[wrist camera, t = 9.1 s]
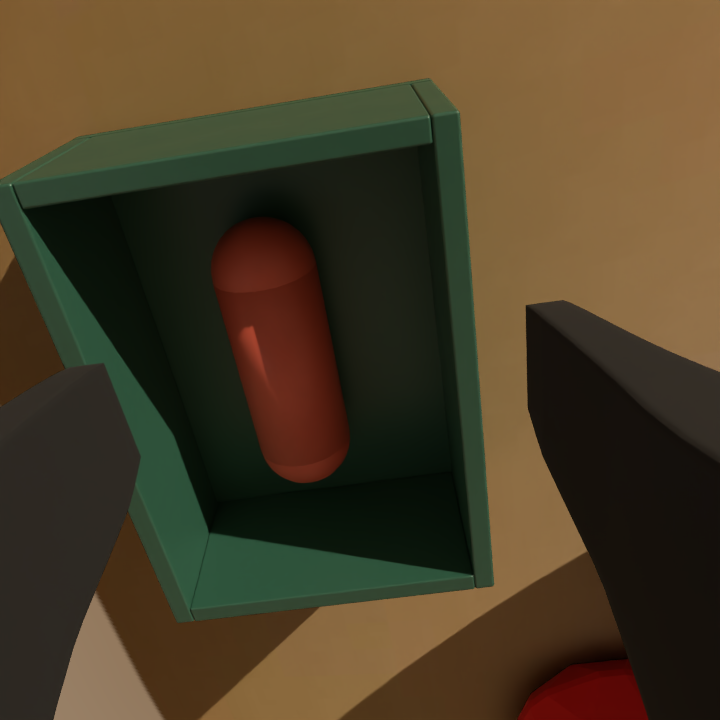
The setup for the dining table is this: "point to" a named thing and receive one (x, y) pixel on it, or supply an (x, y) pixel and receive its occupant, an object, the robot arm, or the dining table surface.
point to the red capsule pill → (282, 346)
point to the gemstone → (588, 694)
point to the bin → (216, 360)
